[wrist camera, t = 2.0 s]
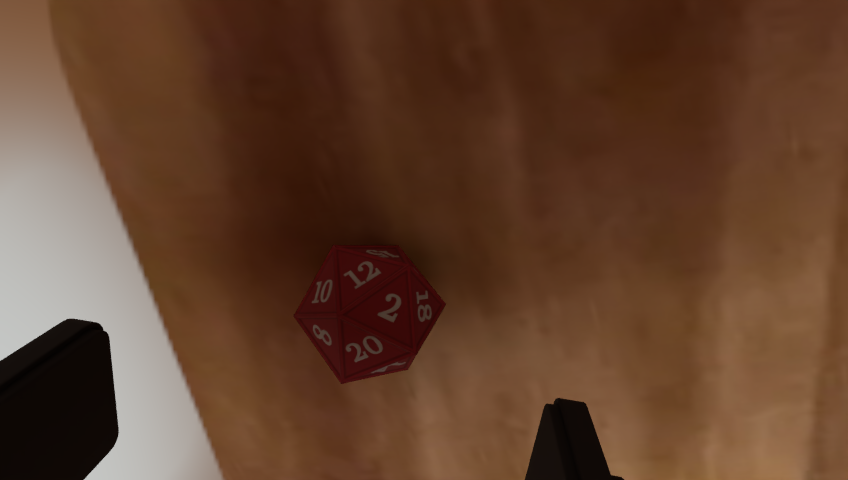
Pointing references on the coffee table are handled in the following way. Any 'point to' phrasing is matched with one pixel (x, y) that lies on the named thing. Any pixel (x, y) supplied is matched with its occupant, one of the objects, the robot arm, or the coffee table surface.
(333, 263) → the dice
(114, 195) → the coffee table surface
